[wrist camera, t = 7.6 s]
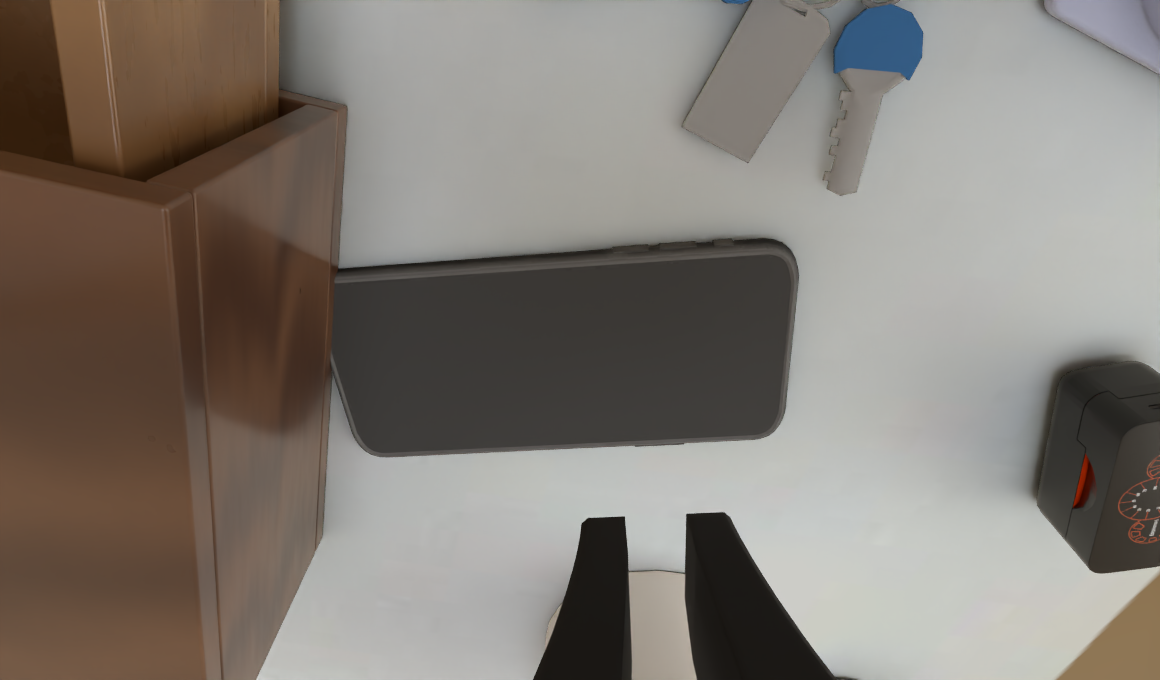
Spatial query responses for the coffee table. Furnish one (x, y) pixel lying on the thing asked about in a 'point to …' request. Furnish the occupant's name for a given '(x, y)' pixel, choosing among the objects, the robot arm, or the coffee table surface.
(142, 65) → the drawer
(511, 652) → the coffee table surface
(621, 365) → the smartphone
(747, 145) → the key chain
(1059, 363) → the coffee table surface
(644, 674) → the cylinder with rectangular tab
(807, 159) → the coffee table surface
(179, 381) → the cabinet
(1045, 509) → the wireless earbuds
